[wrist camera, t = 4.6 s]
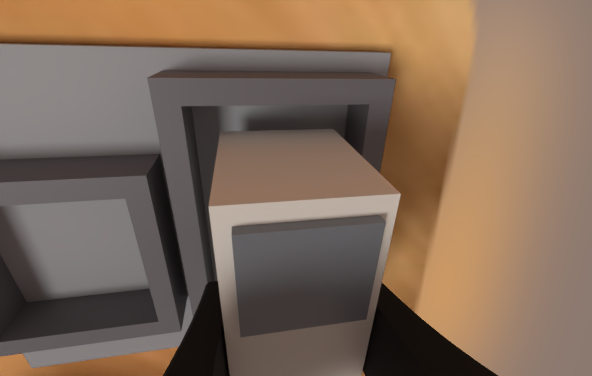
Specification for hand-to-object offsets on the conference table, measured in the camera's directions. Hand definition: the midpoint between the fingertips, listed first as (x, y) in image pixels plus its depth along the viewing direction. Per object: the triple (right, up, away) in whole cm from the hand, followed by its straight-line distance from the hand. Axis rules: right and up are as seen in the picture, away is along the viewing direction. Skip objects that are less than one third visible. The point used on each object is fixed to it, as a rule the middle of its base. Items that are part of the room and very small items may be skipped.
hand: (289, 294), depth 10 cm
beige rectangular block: (-1, +1, +3) cm, 3 cm away
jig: (-5, +2, +4) cm, 7 cm away
